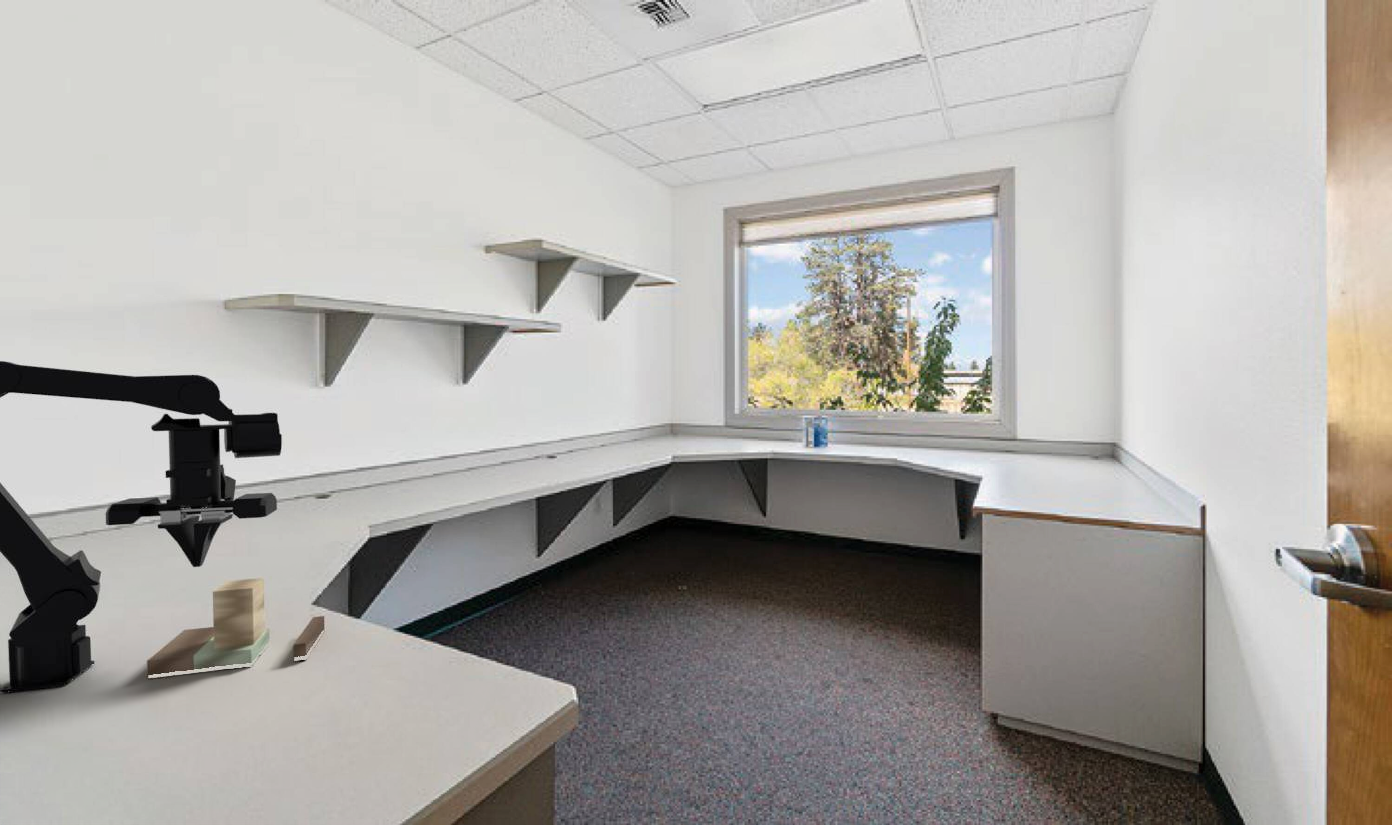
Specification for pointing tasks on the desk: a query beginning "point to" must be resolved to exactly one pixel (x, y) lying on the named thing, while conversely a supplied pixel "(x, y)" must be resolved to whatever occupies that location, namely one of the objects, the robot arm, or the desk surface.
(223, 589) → the beech block
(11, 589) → the desk surface
